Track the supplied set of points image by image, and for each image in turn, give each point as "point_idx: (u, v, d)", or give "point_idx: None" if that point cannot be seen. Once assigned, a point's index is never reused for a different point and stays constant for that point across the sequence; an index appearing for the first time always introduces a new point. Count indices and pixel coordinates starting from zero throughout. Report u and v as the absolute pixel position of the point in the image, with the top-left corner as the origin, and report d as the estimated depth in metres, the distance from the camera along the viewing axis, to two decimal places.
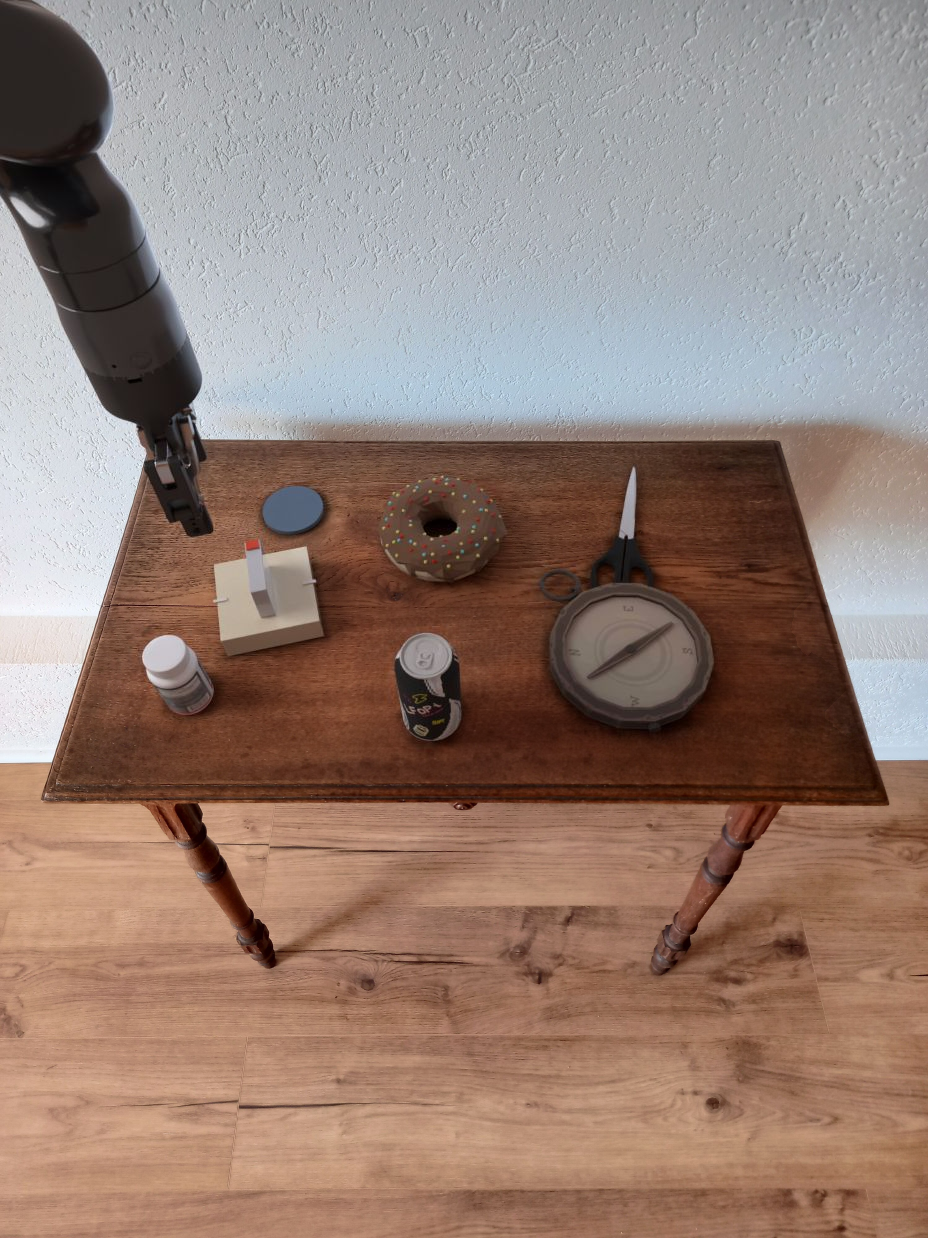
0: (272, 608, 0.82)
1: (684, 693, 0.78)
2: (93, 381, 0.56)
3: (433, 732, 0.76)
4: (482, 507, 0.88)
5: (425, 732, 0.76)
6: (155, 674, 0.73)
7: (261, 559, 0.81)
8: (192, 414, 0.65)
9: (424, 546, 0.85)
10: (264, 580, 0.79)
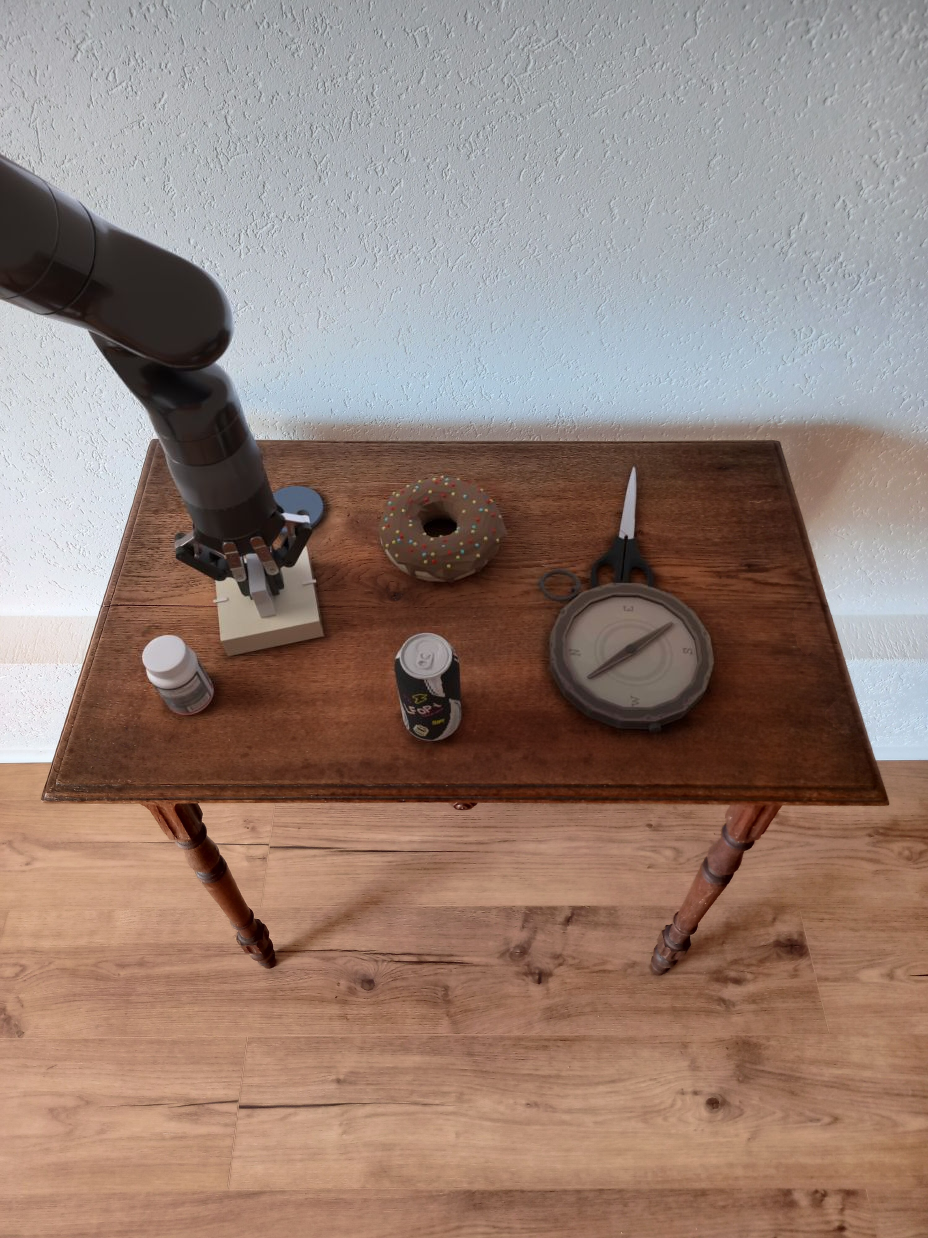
0: (272, 608, 0.82)
1: (684, 693, 0.78)
2: (253, 505, 0.69)
3: (433, 732, 0.76)
4: (482, 507, 0.88)
5: (425, 732, 0.76)
6: (155, 674, 0.73)
7: None
8: None
9: (424, 546, 0.85)
10: (264, 580, 0.79)
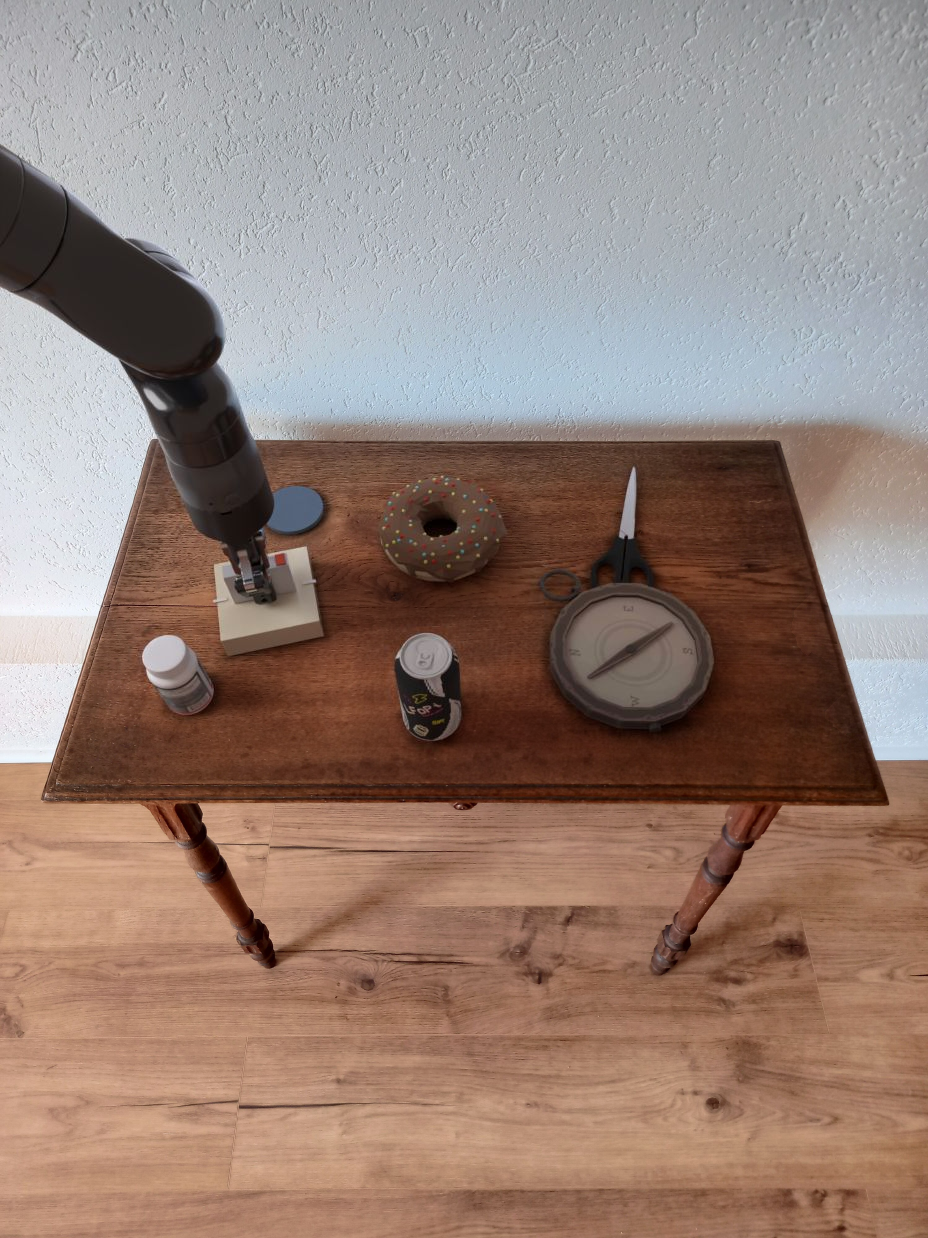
0: (231, 596, 0.82)
1: (684, 693, 0.78)
2: (191, 512, 0.69)
3: (433, 732, 0.76)
4: (482, 507, 0.88)
5: (425, 732, 0.76)
6: (155, 674, 0.73)
7: None
8: (263, 533, 0.78)
9: (424, 546, 0.85)
10: (234, 575, 0.80)
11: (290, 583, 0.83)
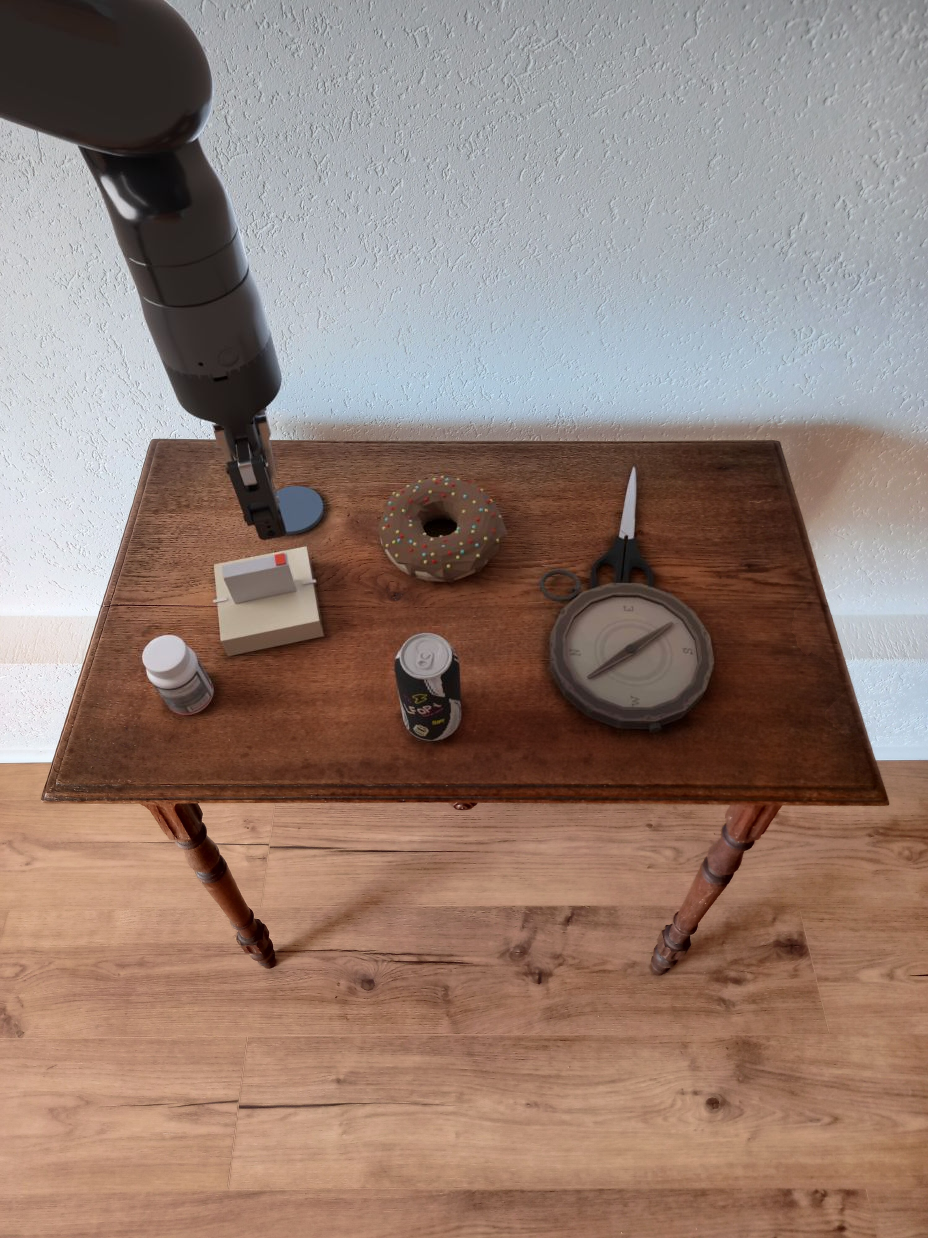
0: (231, 596, 0.82)
1: (684, 693, 0.78)
2: (175, 380, 0.54)
3: (433, 732, 0.76)
4: (482, 507, 0.88)
5: (425, 732, 0.76)
6: (156, 674, 0.73)
7: (261, 569, 0.80)
8: (265, 413, 0.63)
9: (424, 546, 0.85)
10: (234, 575, 0.80)
11: (290, 583, 0.83)
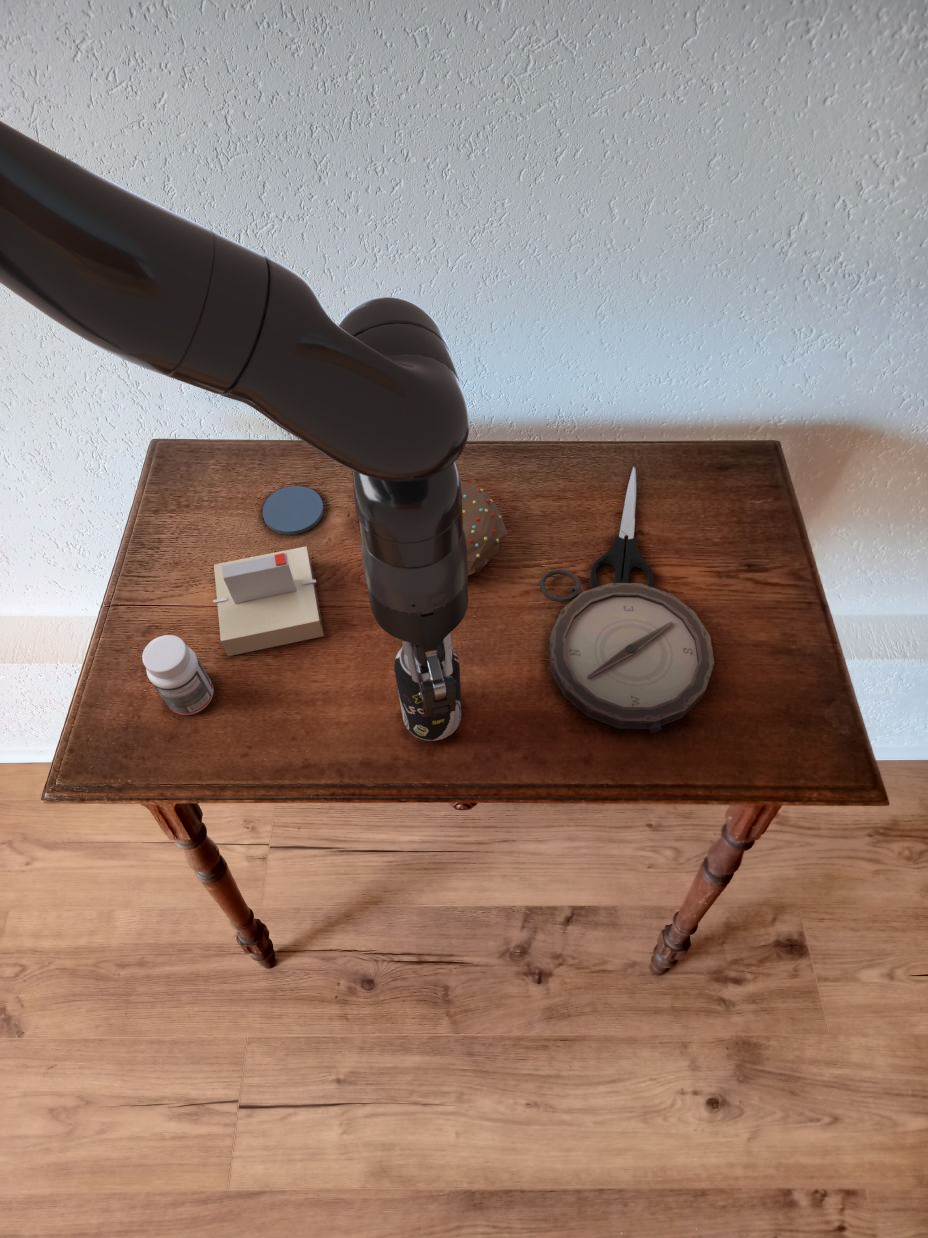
0: (231, 596, 0.82)
1: (684, 693, 0.78)
2: (382, 611, 0.59)
3: (433, 732, 0.76)
4: (482, 507, 0.88)
5: (424, 732, 0.76)
6: (155, 674, 0.73)
7: (261, 569, 0.80)
8: None
9: None
10: (234, 575, 0.80)
11: (290, 583, 0.83)
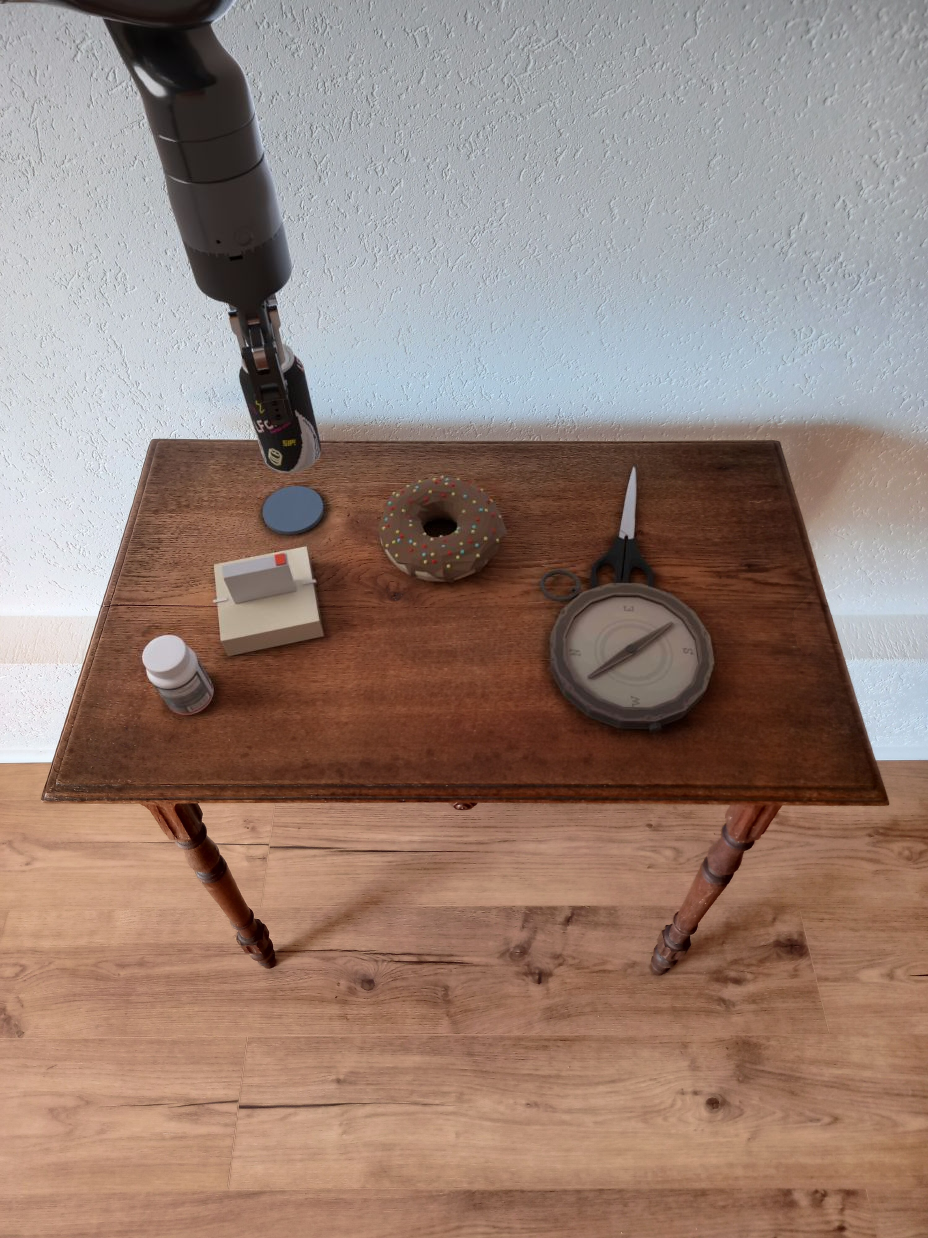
0: (231, 596, 0.82)
1: (684, 693, 0.78)
2: (195, 260, 0.59)
3: (287, 459, 0.76)
4: (482, 507, 0.88)
5: (279, 459, 0.76)
6: (155, 674, 0.73)
7: (261, 569, 0.80)
8: None
9: (424, 546, 0.85)
10: (234, 575, 0.80)
11: (290, 583, 0.83)
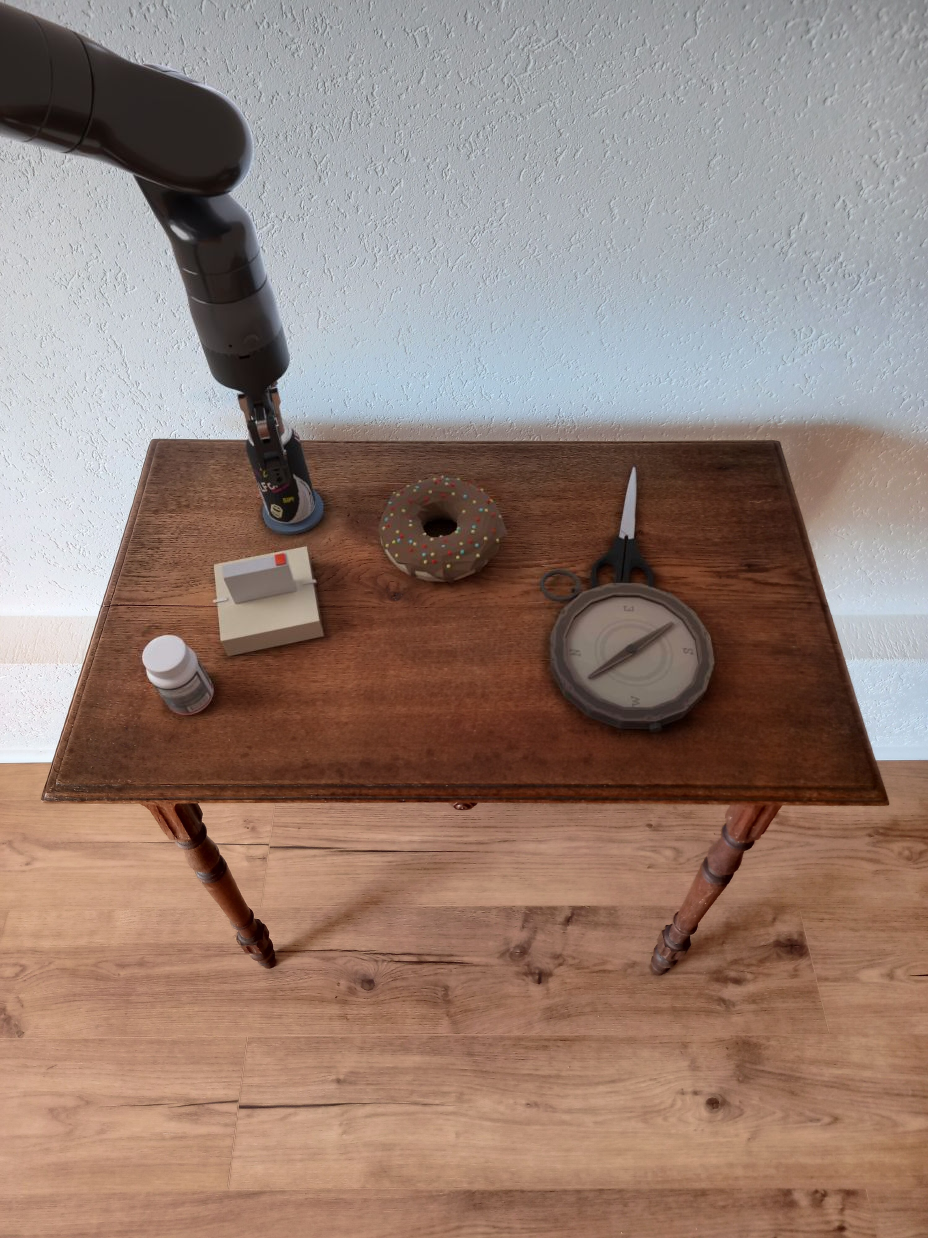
0: (231, 596, 0.82)
1: (685, 693, 0.78)
2: (211, 358, 0.72)
3: (287, 513, 0.90)
4: (482, 507, 0.88)
5: (280, 512, 0.90)
6: (155, 674, 0.73)
7: (261, 569, 0.80)
8: (276, 387, 0.82)
9: (424, 546, 0.85)
10: (234, 575, 0.80)
11: (290, 583, 0.83)
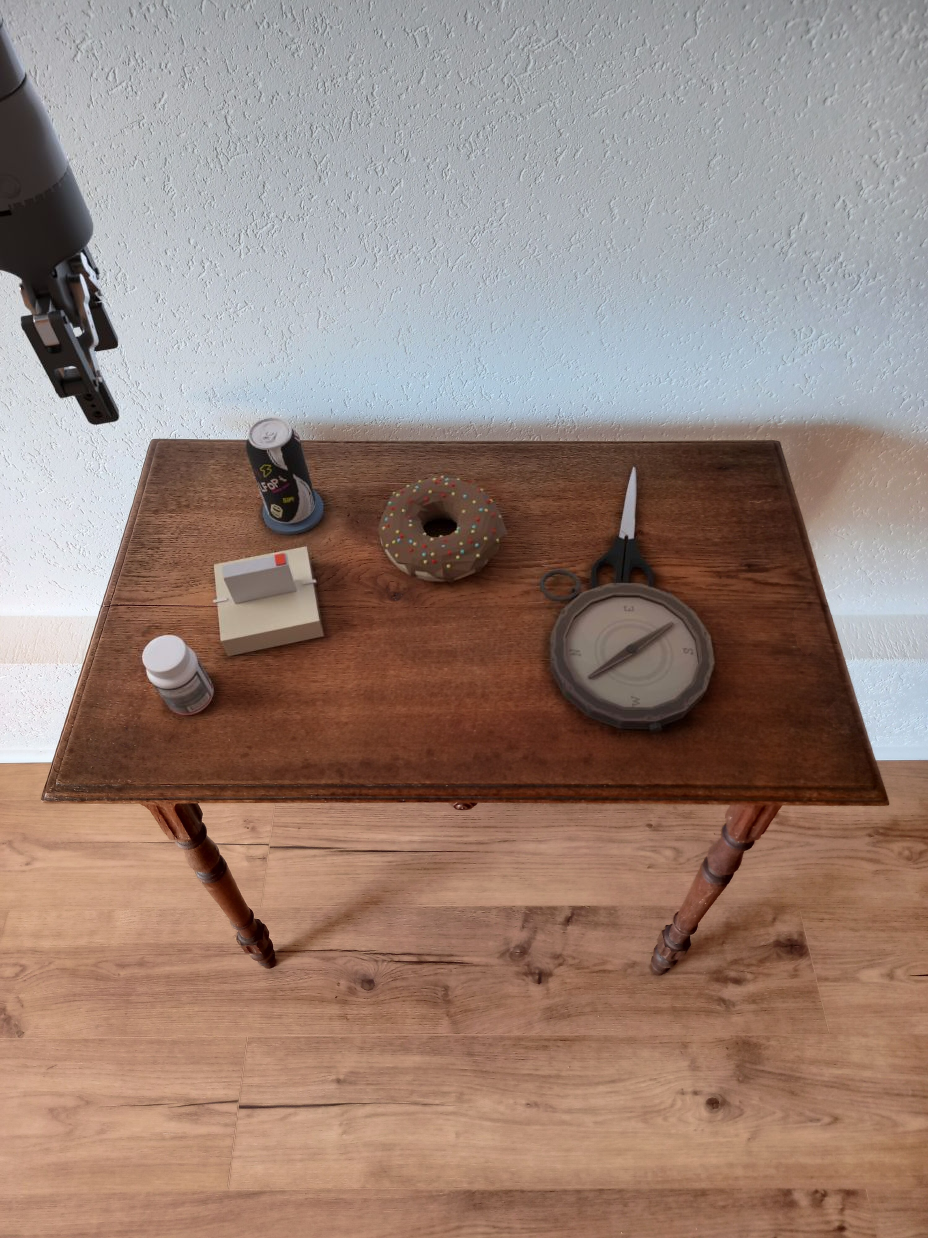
0: (231, 596, 0.82)
1: (685, 693, 0.78)
2: None
3: (287, 513, 0.90)
4: (482, 507, 0.88)
5: (280, 512, 0.90)
6: (155, 674, 0.73)
7: (261, 569, 0.80)
8: (91, 281, 0.57)
9: (424, 546, 0.85)
10: (234, 575, 0.80)
11: (290, 583, 0.83)
